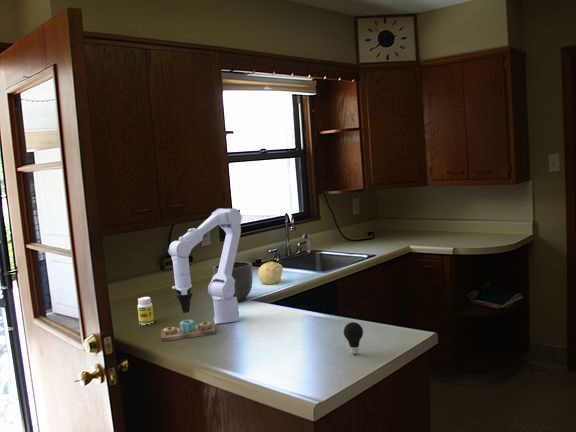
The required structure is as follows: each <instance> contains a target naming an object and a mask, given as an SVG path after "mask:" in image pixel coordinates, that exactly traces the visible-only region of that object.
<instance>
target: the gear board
mask: <svg viewBox="0 0 576 432" xmlns="http://www.w3.org/2000/svg"><path fill="white" fill-rule="evenodd" d="M185 320H186V321H185ZM185 320H184V321H185V323H188V322H189V321H188V320H189V319H185ZM214 334H216V329H215V326H214V323H213V322H212V321H203V322H199V324H195V330H194V331H191V332H188V333H187V332H184V333H182V332H180V327H176V326H167V327H164V328H163V329H161V334H160V335H161V342H168V341H175V340H182V339H188V338H196V337H202V336H208V335H214Z"/></svg>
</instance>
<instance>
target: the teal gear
mask: <svg viewBox="0 0 576 432" xmlns="http://www.w3.org/2000/svg"><path fill="white" fill-rule="evenodd" d="M186 320H188V321H189V322H188V323H185V321H186ZM178 325H179V328H180V332H182V333H184V332H187V333H188V332H191V331H194V330H195V325H196V324H195V320H193V319H185V320H181V321H180V322H179V324H178Z"/></svg>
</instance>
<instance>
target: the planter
mask: <svg viewBox="0 0 576 432" xmlns="http://www.w3.org/2000/svg"><path fill="white" fill-rule="evenodd" d="M219 264H220V263H218V264H216V265H214V266H212V272H213V274H212V275H213V276H214V275H215V274H216V273H217V272H218V268H219ZM232 277H233V278H234V280H235V284H234V286H235V293H234V295H233V297H237V302H238V303H241V302H244V301H245V300H246V299H247V297H248V296H249V295H250V294H251V291H252V287H253V264H252V262H249V261H243V260H242V261H234V266H233V270H232ZM222 282H225V281H222Z"/></svg>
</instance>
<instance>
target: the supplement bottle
mask: <svg viewBox="0 0 576 432" xmlns="http://www.w3.org/2000/svg"><path fill="white" fill-rule="evenodd" d="M137 303H138V304H137V313H138V314H137V315H138V324H139V325H140V324H141V326H146V324H148V325H152V324H154V322H155V319H154V318H155V316H154V309H153V308H154V307H153V303H152V299H151V297H150V296H143V297H139V298H137ZM151 323H152V324H151Z"/></svg>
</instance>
